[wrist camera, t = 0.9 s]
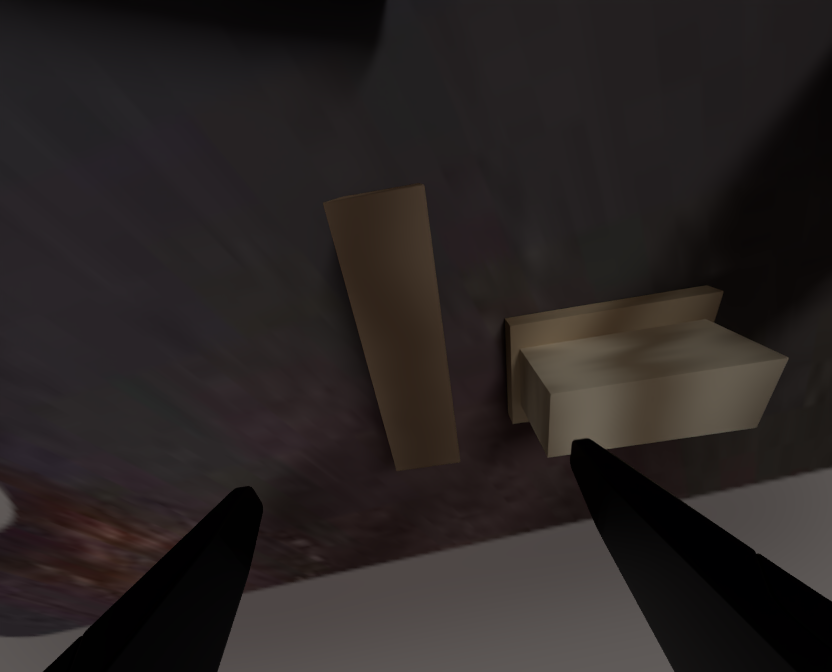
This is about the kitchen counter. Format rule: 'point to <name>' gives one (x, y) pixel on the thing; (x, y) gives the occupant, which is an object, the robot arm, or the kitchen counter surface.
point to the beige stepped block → (635, 371)
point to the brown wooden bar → (398, 318)
